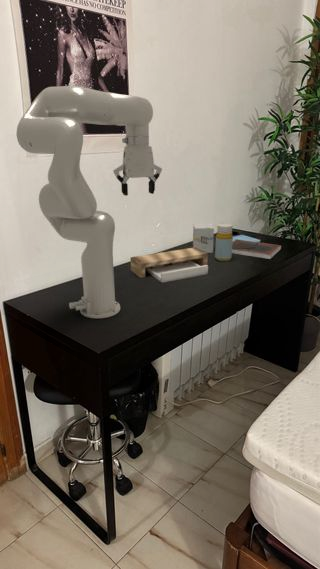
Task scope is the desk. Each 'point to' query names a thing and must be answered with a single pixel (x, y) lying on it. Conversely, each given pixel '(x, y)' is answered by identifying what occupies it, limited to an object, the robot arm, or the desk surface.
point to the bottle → (223, 242)
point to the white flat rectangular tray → (178, 271)
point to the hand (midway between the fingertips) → (138, 194)
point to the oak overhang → (167, 259)
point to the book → (255, 248)
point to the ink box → (203, 237)
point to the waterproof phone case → (245, 238)
